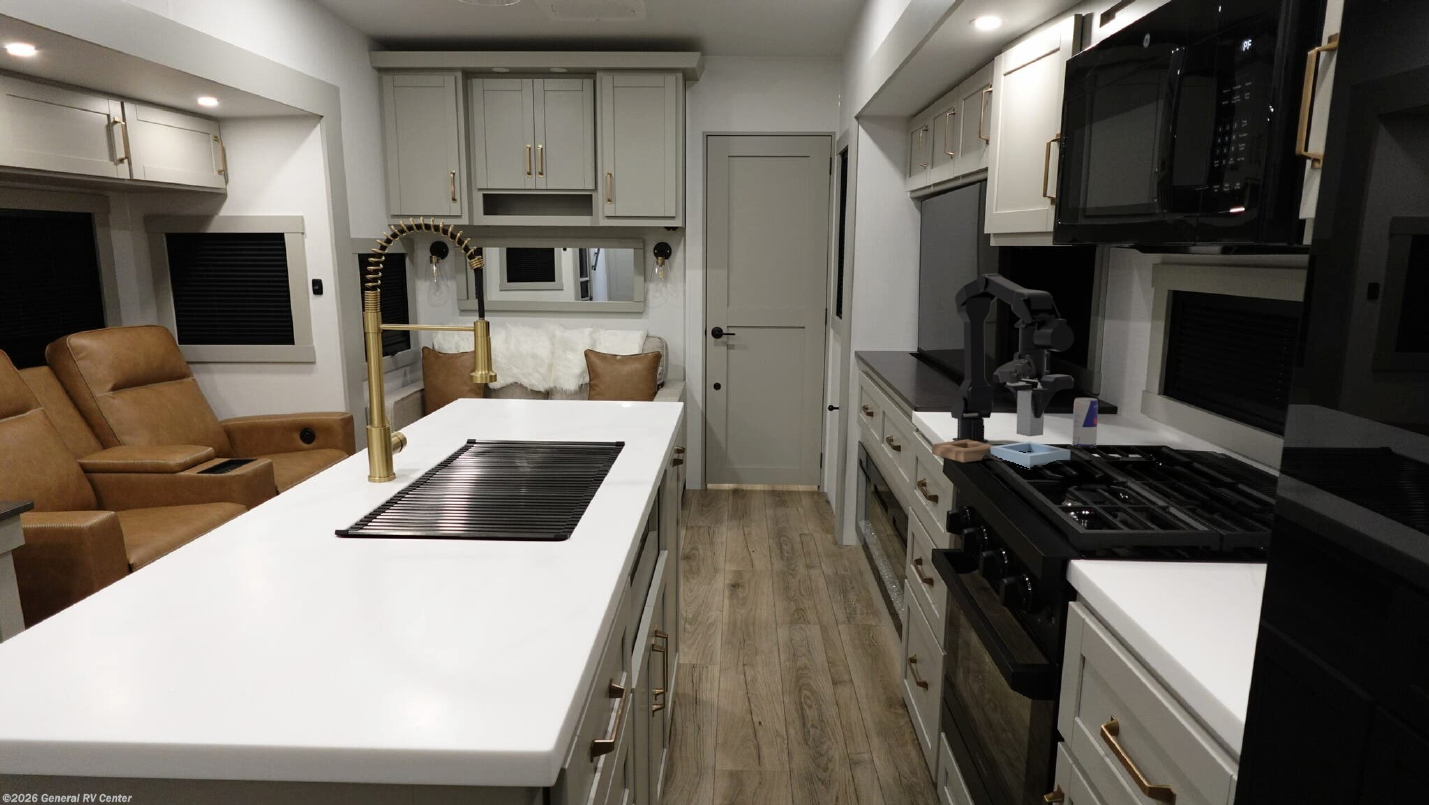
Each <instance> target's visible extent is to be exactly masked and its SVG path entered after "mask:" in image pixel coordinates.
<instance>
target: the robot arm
mask: <svg viewBox="0 0 1429 805" xmlns="http://www.w3.org/2000/svg"><path fill="white" fill-rule="evenodd" d="M997 299H1000V300H1001V301H1003V302H1005V303H1007V304H1009V305H1010V306H1011V311H1012V312H1013V313H1014V314H1015V315H1016V316H1017V317H1019V318H1020V319H1019V320H1018V321H1017V322H1015V323H1014V327H1015V328H1019V339H1018V340H1019V341H1018V342H1019V343H1018V344H1019V345H1018V352H1014V354H1013V360H1012V361H1009V362H1007V363H1004V364H1003V365H1001V366H1000V367H997V368H996V370H995V371H994V372H993V374H992V383H996V384H1003V383H1006V384H1004V385H1003V386H1004V388H1007V389H1008V390H1009V391H1010V392H1012V394H1013V396H1014V399H1015V401H1016V403H1017V399H1018V391H1019V390H1029V389H1031V390H1032V392H1033V393H1034V395H1035V417H1036V418H1040V417H1041V416H1042V414H1043V412H1044V413H1045V410H1046V408H1047V406H1048V404H1049V403H1050V401H1051V400H1052V398H1053V397H1054V396H1055V394H1056V392H1058V391H1060V390H1069V389H1074V384H1075V381H1074V380H1075V379H1074V378H1073V377H1072V375H1067V374H1060V373H1058V374H1051V372H1050V370H1046V369H1047V359H1048V358H1051V352H1047V351H1053V352H1065V351H1067V350H1070V348H1071V347H1072V345H1073V343H1074V340H1075V335H1074V332H1073V330H1072V328H1071V327H1070V326H1068V325H1067V319H1065V318H1064V319H1063V318H1062V317H1061V313H1060V312H1059V310H1058V307H1057V306H1056V303H1055V301H1054V299H1053V296H1052V294H1051V293H1050V292H1048V291H1045V290H1038V289H1037V290H1036V289H1029V288H1025V287H1022V286H1021V285H1019V284H1017V283H1015V282H1013V281H1011V280H1009V279H1007V278H1006V277H1003V275H1002V274H999V273H983V274H981V275H979V276H978V277H977V278H976V279H975V280H973V281H971V282H968V283H967V284H965V285H963V286H962V287H961V288H960V289H959V291H958V292H956V294H955V297H954V300H955V305H956V313H957V315H958V316H959V318H960V319H961V321H962V323H963V348H964V350H963V351H964V352H963V354H964V355H963V356H964V358H963V359H964V361H963V364H964V380H963V381H962V383H961V385H960V386H959V388H958V390H957V392H958V393H957V399H956V401H954V403H953V405H952V407H951V408H950V416H951V419H952V418H953V419H956V420H957V432H956V433H957V434H956V435H957V436H956V437H953V438H952V441H959V440H967V439H968V440H972V441H977V442H981V443H987V442H989V439H986V438H985V423H984V422H985V419H990V418H991V415H992V411H993V407H994V404H995V399H994V387H993V385H990V384H989V383H988V381H987V380H986V368H985V366H986V362H985V361H986V358H985V356H986V355H985V354H986V353H985V349H986V348H985V321H986V319H987V318H988V316H989V315H990V312H991V310H992V309H991V308H992V303H993V302H994V301H996V300H997ZM1033 384H1034V385H1035V384H1037V386H1036V387H1037V388H1035V387H1034V388H1032V386H1033Z"/></svg>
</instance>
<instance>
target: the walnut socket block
mask: <svg viewBox="0 0 1429 805" xmlns="http://www.w3.org/2000/svg"><path fill="white" fill-rule="evenodd" d="M992 446H995V445H994V444H989V443H987V442H977V441H972V440H968V439H967V440H959V441H955V440H952V441H944V442H938V443H937V442H936V443H932V444H931V455H934V456H938V457H941V458H945V459H949V460H952V461H957V462H960V463H970V462H976V461H983V460H982V458H983V456H984V455H986V453H990V448H991V447H992Z"/></svg>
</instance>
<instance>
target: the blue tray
mask: <svg viewBox="0 0 1429 805" xmlns="http://www.w3.org/2000/svg"><path fill="white" fill-rule="evenodd" d="M1019 451H1023V452H1026V453H1023V452H1019ZM1028 451H1031V452H1028ZM990 453H991V454H993V455H995V456H997V457H998V458H1002V459H1003V460H1007V461H1010V462H1014V463H1016V464H1019V465H1022V466H1024V467H1027V468H1029V469H1028V470H1031V469H1030V468H1031V467H1033V466H1034V465H1046V464H1048V463H1050V462H1053V461H1056V460H1070V461H1071V449H1067V448H1061V447H1056V446H1053V445H1052V446H1051V445H1049V444H1048V445H1047V444H1044V443H1043V444H1042V443H1038V442H1033V441H1023V442H1016V443H1009V444H1001V445H994V446H992V447H991V448H990ZM1032 453H1033V454H1032Z"/></svg>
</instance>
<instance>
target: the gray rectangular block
mask: <svg viewBox="0 0 1429 805" xmlns="http://www.w3.org/2000/svg"><path fill="white" fill-rule="evenodd" d="M1031 389H1032V388H1031ZM1031 389H1029V390H1019V391H1018V399H1017V402H1016V406H1017V407H1016V433H1015V434H1017V435H1021V436H1026V437H1038V436H1043V435H1044V421H1045V420H1044V419H1045V418H1044V417H1045V411H1044V412H1043V414H1042V416H1041V417H1040V418H1036V417H1035V395H1034V393H1033V392H1032V390H1031Z"/></svg>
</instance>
